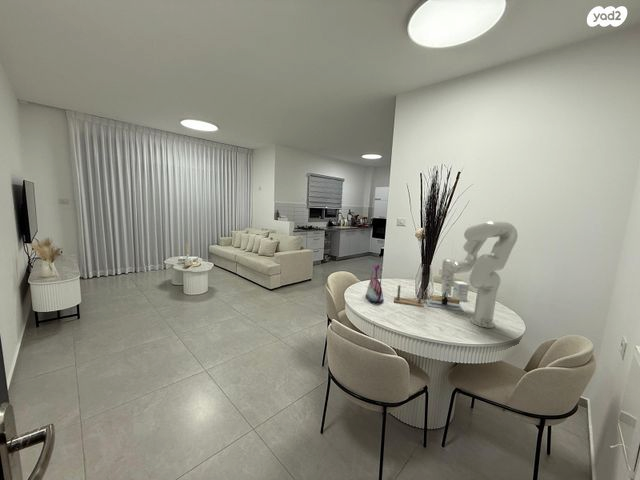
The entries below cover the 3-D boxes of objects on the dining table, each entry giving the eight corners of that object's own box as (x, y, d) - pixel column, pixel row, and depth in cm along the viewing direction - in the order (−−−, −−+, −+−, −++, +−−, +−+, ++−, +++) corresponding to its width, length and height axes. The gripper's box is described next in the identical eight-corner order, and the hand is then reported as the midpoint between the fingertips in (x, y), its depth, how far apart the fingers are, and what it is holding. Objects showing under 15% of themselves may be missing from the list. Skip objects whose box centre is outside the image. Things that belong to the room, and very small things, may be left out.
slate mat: (463, 311, 173) (463, 310, 173) (427, 306, 179) (427, 305, 179) (459, 305, 185) (460, 304, 185) (425, 300, 191) (426, 299, 191)
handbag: (363, 294, 198) (365, 261, 195) (376, 294, 200) (378, 261, 196) (372, 305, 177) (375, 268, 174) (386, 305, 179) (389, 268, 175)
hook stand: (423, 306, 178) (425, 292, 177) (394, 302, 184) (395, 288, 182) (422, 301, 188) (424, 287, 186) (394, 297, 193) (395, 284, 192)
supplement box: (451, 297, 200) (453, 280, 198) (461, 297, 200) (463, 281, 198) (456, 300, 193) (458, 283, 191) (467, 301, 193) (469, 284, 191)
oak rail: (459, 304, 178) (459, 299, 177) (430, 300, 183) (430, 295, 182) (458, 302, 180) (459, 298, 180) (429, 298, 186) (430, 294, 185)
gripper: (455, 281, 170) (452, 308, 173) (451, 274, 186) (448, 300, 189) (442, 279, 172) (439, 306, 175) (439, 273, 188) (436, 298, 191)
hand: (444, 303), depth 182 cm, fingers closed on oak rail, 3 cm apart
